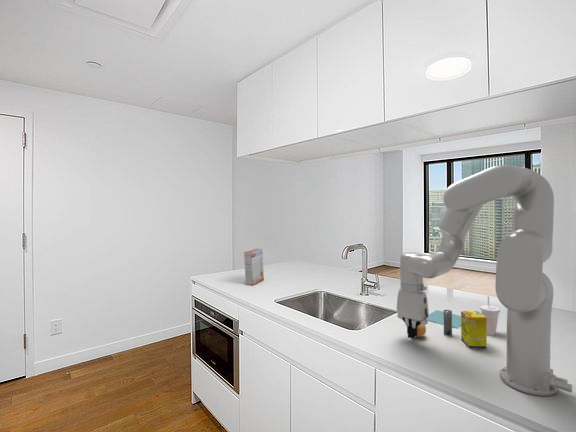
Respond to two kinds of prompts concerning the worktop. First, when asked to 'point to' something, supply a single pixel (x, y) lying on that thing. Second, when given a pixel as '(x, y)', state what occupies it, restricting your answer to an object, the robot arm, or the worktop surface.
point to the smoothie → (490, 317)
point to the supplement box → (474, 329)
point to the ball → (420, 330)
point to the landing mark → (439, 318)
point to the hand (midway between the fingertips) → (412, 336)
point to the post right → (448, 322)
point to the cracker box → (254, 266)
